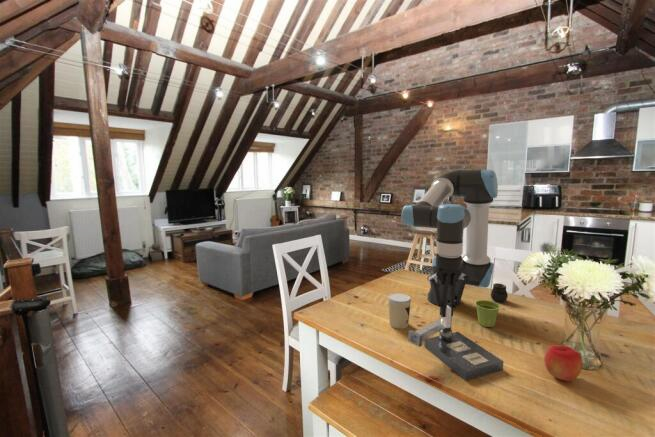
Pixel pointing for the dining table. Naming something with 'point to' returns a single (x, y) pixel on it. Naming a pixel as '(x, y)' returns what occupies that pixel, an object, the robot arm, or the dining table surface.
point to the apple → (563, 362)
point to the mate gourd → (499, 292)
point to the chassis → (463, 355)
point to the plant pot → (487, 312)
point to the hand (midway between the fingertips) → (446, 325)
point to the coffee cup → (399, 310)
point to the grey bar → (427, 332)
